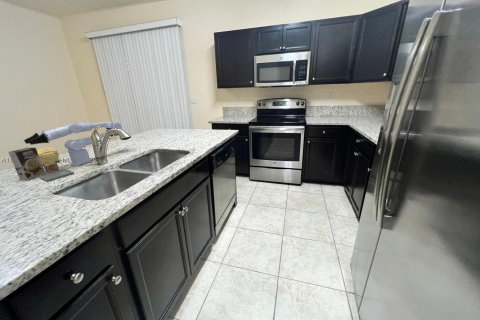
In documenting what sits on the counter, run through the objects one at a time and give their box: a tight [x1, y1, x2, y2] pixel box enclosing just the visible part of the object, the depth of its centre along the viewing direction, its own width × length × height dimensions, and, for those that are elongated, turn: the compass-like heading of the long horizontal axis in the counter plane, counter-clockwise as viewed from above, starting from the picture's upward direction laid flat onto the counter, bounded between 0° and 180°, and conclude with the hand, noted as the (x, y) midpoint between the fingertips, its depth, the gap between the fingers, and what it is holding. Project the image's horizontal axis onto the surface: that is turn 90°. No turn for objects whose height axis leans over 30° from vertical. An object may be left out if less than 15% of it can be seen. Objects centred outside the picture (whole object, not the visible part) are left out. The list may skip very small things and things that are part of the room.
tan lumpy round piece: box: [37, 147, 60, 165], centre depth 136 cm, size 11×12×11 cm
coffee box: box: [8, 147, 47, 181], centre depth 112 cm, size 9×6×16 cm
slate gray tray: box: [38, 168, 75, 183], centre depth 114 cm, size 12×12×1 cm
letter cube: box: [42, 162, 60, 174], centre depth 120 cm, size 5×5×5 cm
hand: (27, 142), depth 111 cm, fingers open, 7 cm apart
